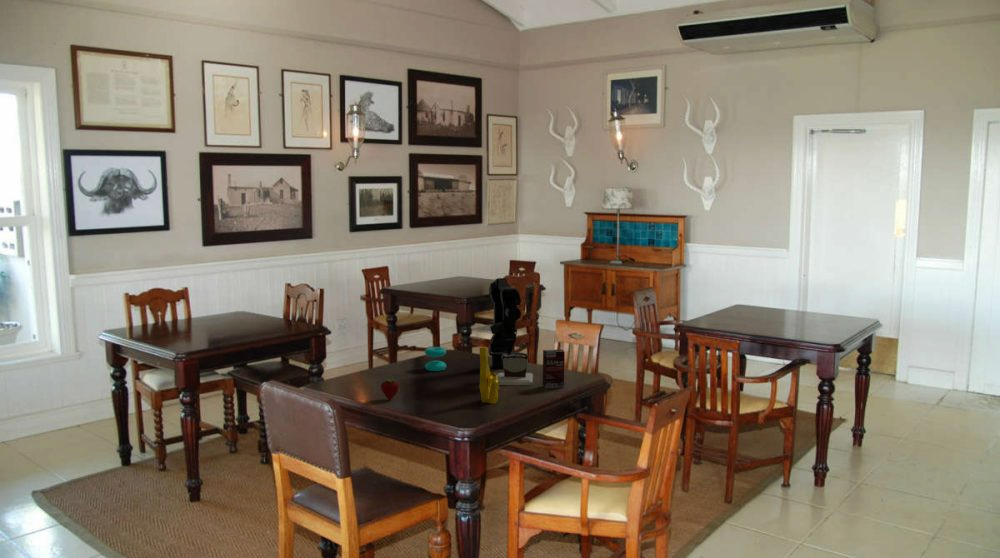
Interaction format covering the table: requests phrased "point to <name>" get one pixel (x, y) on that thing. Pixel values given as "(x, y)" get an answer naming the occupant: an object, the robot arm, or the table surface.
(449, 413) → the table surface
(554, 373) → the supplement box
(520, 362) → the food container
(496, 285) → the robot arm
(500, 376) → the white square tray
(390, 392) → the strawberry
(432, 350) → the donuts
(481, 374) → the yellow tall lumpy piece
